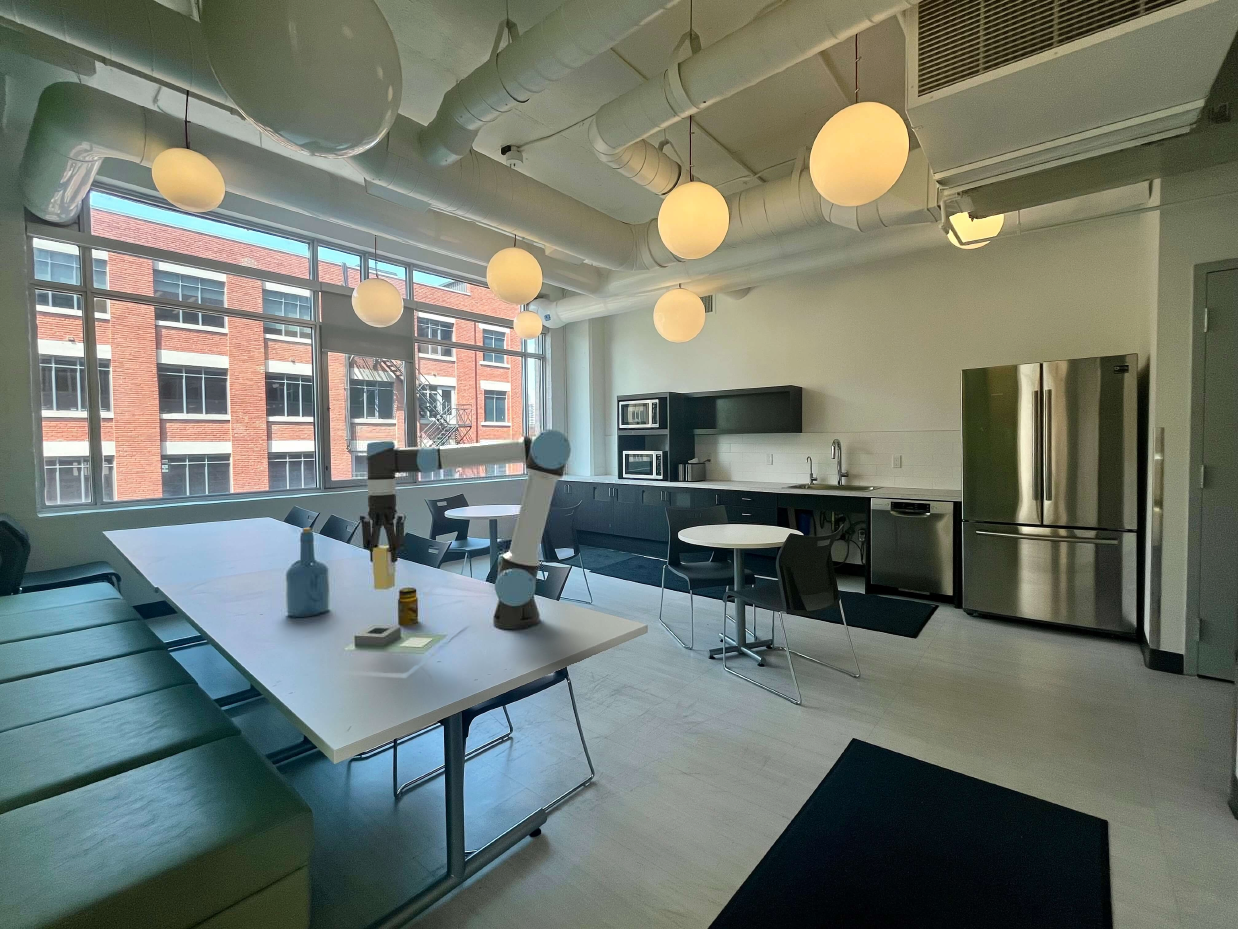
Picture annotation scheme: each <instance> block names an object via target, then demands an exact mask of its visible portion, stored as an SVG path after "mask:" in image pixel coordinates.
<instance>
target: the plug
mask: <svg viewBox="0 0 1238 929" xmlns="http://www.w3.org/2000/svg"><path fill="white" fill-rule="evenodd" d="M389 550H390V549H389V545H378V547H375V548H373V561H374V574H373V583H374V584H373V585H374V586H373V588H374V590H390V589H391V588H394V587H395V586H396V582H395V581H396V580H395V579H396V578H395V577H396V575H395V573H396V572H395V573H393V574H388V558H387V552H389Z"/></svg>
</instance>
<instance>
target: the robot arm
mask: <svg viewBox="0 0 1238 929" xmlns="http://www.w3.org/2000/svg"><path fill="white" fill-rule="evenodd" d="M366 444H367V445H366V457H365V458H366V471H367V472H366V473H367V474H366V475H367V482H366V483H367V493H368V494H369V495H368V496H367V506H368V508H369V509H368V512H367V513H365V514H364V515H360V516H359V520H360V524H361V531H362V532H361V533H362V548H363V549H364V550H367V551H369V556H370V557H369V560H370V562H371V563H372V575H374V561H373V548H375V547H378V546H379V542H380V536H381V529H382V528H383V529H384V530H385V534H386V538H387V539H386V540H387V542H388V544H387V545H388V546H389V549H390V550H389V552H387V558H388V574H393V573H396V572H397V571H396V568H397V567H396V562H398V559H399V558H398V556H399V554H398V551H399V550H401V549H404V546H405V521H406V519H407V516H406V515H405V514H399V513H398V511H397V509H396V506H397V495H396V493H395V492H396V489H397V488H396V483H397V482H396V474H403V473H406V474H409V473H410V474H411V473H412V474H413V473H414V474H415V473H419V474H420V473H423V474H426V473H427V474H428V473H435V472H437V471H440V470H451V469H453V470H454V469H462V468H463V469H464V468H475V467H476V468H477V467H487V466H498V465H510V464H523V465H524V466H525V470H526V472H527V474H528V478H527V480H526V485H525V489H524V492H523V496H522V501H521V504H520V506H519V511H518V512H519V513H518V516H517V520H516V523H515V527H514V531H513V535H512V538H511V543H510V546H509V550H508V551H507V552H505V553H501V554H499V555H498V558H497V559H498V560H497V567H498V568H497V570H498V571H497V576H496V577H497V578H496V580H495V582H494V590H495V594H496V596H497V598H498V601H497V603H496V607H495V611H494V613H493V618H492V620H493V626H494V627H496V628H498V629H503V630H521V629H523V630H524V629H528V628H531V627H534V626H536V625H538V624H539V623H540V621H541V620H540V619H541V618H540V616H541V615H540V611H539V609H538V606H537V602H536V600H535V591H536V581H537V579H538V578H537V577H538V574H539V570H540V566H541V562H540V560H539V558H538V554H539V550H540V546H541V543H542V542H541V541H542V538H543V534H544V531H545V527H546V523H547V519H548V516H549V515H548V514H549V512H550V507H551V502H552V499H553V496H554V491H555V487H556V485H557V481H559V480H561V479H562V478H564V477H563V476H564V472H565V468H566V465H567V462H568V460H569V458H570V455H571V449H572V448H571V444H570V441H569V439H568V438H567V436H566V435H565V434H564V433H562V432H561V431H559V430H557V429H551V428H550V429H549V428H548V429H543V430H541V431H539V432H537V433H536V434H533V435H523V436H522V437H521V438H520V439H513V440H501V441H488V442H476V443H465V444H453V445H452V444H451V445H450V444H449V445H441V446H438V445H437V446H417V447H416V446H415V447H414V446H413V447H411V446H410V447H397V446H396V445H395V442H394V441H393V440H372V441H369V442H368V443H366ZM394 520H395V522H394Z"/></svg>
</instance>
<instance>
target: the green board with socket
mask: <svg viewBox="0 0 1238 929" xmlns="http://www.w3.org/2000/svg"><path fill="white" fill-rule="evenodd" d="M401 629H402V625H399V626H398V625H395V626H394V625H376V624H375V625H374V624H373V625H371V626H369V627H367V628H366V629H364V630H361V631H360V632H359V633H357V634H355V635H354V642H353V643H352V644H350V645H349V646H346V647H345V648H343V650H344V651H360V652H362V651H364V652H365V651H366V652H378V653H379V652H380V653H400V654H418V655H419V654H420V655H421V654H425V653H426V652H427V651H428V650H430V649H431V648H432V647H434V646H435V645H437V643H439V642H440V641H442V640H443V639H444V638H446V637H447V636H448V634H437V633H436V634H435V633H434V634H433V633H419V632H418V633H417V632H415V633H414V632H402V630H401Z"/></svg>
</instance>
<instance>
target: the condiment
mask: <svg viewBox="0 0 1238 929" xmlns="http://www.w3.org/2000/svg"><path fill="white" fill-rule="evenodd" d="M418 602H419V600H418V596H417V589H416V588H415V587H404V588H401V589H399V591H398V598H397V616H398V617H397V620H398V621H397V623H398V625H399V626H412V625H415V624H417V623H418V621H419V603H418Z"/></svg>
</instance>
